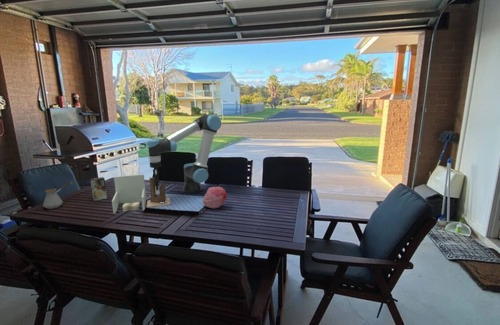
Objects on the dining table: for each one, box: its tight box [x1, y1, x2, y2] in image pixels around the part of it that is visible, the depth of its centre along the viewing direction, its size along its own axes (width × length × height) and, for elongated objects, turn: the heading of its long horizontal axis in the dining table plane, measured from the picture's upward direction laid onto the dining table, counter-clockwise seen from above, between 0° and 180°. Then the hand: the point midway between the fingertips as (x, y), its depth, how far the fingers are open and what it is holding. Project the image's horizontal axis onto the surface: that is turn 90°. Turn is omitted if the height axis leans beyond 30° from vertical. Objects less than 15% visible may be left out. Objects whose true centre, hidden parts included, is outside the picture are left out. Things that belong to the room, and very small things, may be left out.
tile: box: [146, 197, 172, 208], centre depth 198 cm, size 16×14×1 cm
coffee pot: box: [42, 181, 73, 210], centre depth 196 cm, size 21×12×15 cm, turn 159°
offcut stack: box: [122, 201, 141, 212], centre depth 188 cm, size 11×8×4 cm
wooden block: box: [148, 176, 167, 202], centre depth 197 cm, size 4×11×18 cm, turn 81°
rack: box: [111, 173, 147, 215], centre depth 191 cm, size 20×22×20 cm
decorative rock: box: [202, 186, 228, 210], centre depth 187 cm, size 19×14×15 cm
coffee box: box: [90, 176, 108, 202], centre depth 209 cm, size 9×6×16 cm
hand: (157, 192), depth 197 cm, fingers open, 5 cm apart
